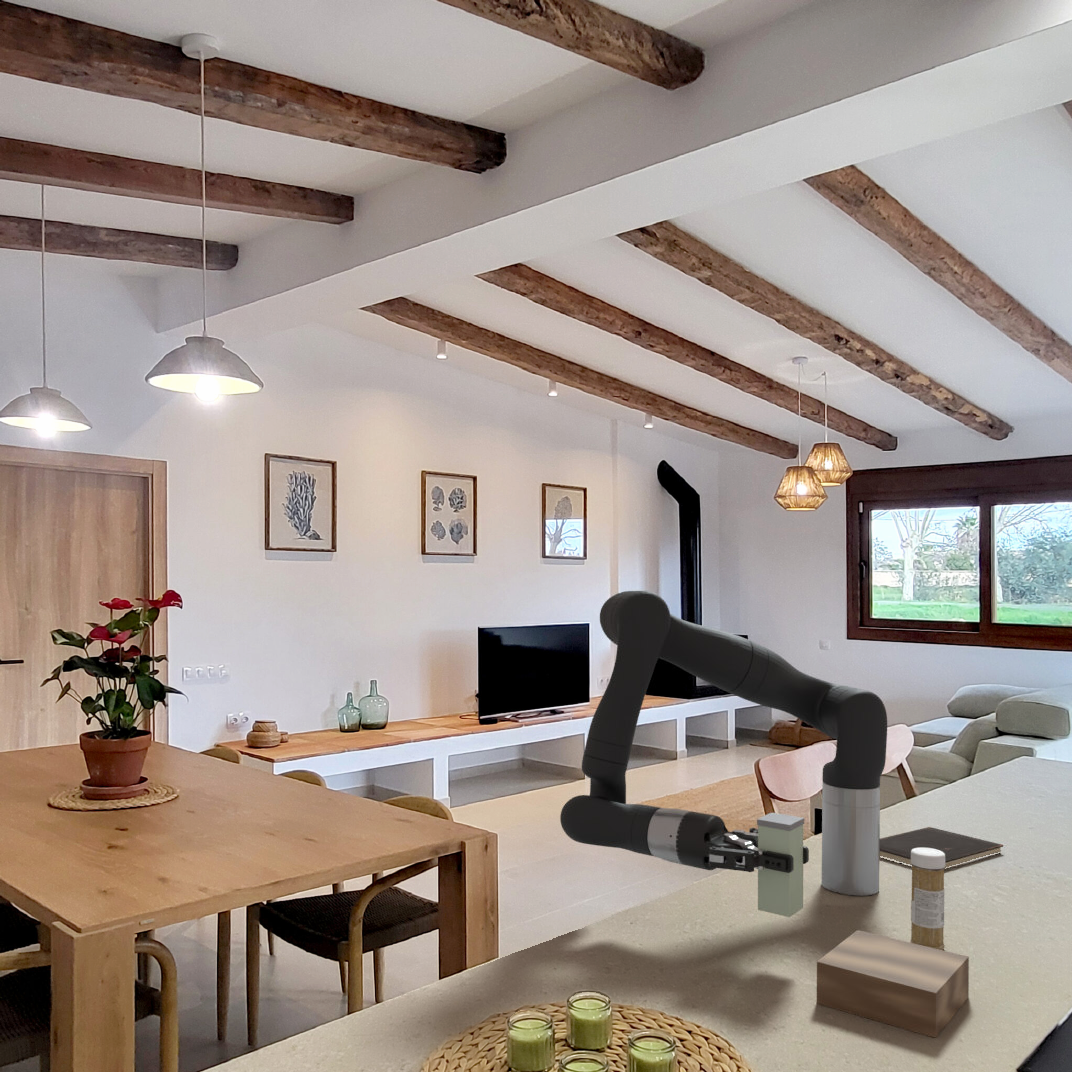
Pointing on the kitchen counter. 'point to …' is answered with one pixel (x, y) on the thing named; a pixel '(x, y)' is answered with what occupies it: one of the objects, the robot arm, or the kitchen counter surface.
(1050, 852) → the kitchen counter surface
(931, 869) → the sprinkles bottle
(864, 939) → the walnut block
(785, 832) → the green tin canister
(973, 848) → the hardcover book
